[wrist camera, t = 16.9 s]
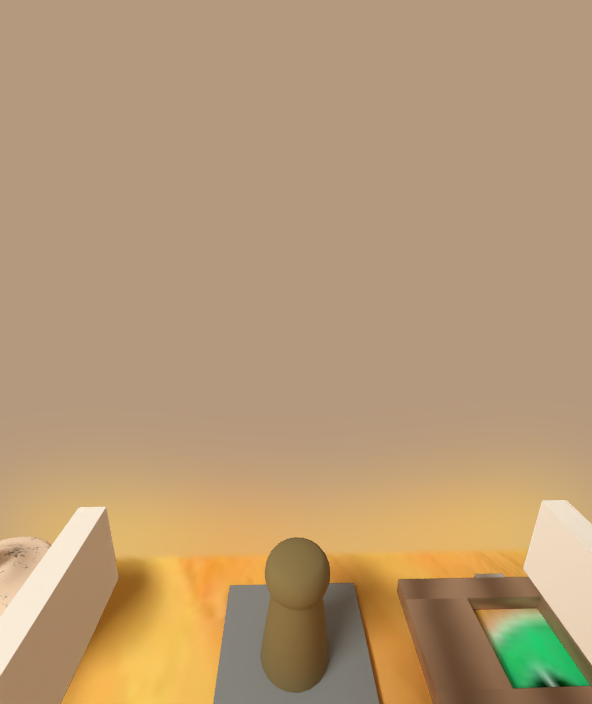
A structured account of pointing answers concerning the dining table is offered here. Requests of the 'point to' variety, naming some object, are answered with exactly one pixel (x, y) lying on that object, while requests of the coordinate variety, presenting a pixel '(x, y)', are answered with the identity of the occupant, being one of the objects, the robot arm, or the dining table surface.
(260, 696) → the gray mat
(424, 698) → the dining table surface
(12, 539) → the teacup with lid
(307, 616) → the brown tall rounded piece
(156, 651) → the dining table surface
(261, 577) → the dining table surface
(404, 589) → the walnut holder
